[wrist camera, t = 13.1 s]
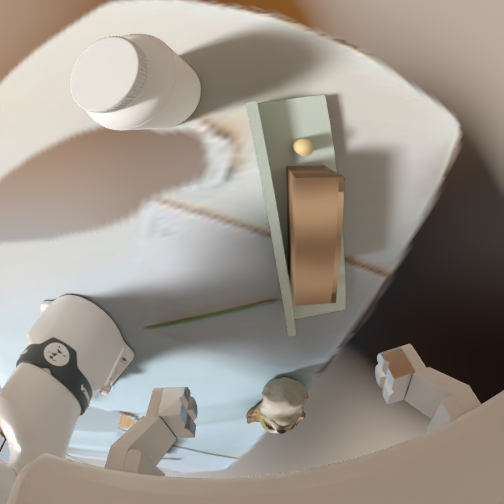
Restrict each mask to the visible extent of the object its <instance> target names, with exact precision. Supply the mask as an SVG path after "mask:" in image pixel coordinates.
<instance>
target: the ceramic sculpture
mask: <svg viewBox="0 0 504 504" xmlns="http://www.w3.org/2000/svg"><path fill="white" fill-rule="evenodd" d="M262 396H263V401H262V403H259V404H258V405H256V406H254V407H252V408H251V409H250V410H249V411H248V412H247V423H248V424H249V423H251V422H254V421H255V422H261V425H262V427H263V428H264V429H265V430H267V431H268V432H271V433H280V434H282V433H286V432H289V431H290V430H292V429H293V428H294V427H295V425H297V424H298V422H299V420H301V419H304V418H305V413H304V412H303V405H304V403H305V402H306V401H307V399H308V393H307V391H306V388H305V387H304V385H303V384H302V383H300V382H299V381H297V380H294V379H291V378H288V377H281V378H277V379H272V380H270V381H269V382H268V383H267V384H266V385H265V387H264V389H263V392H262Z"/></svg>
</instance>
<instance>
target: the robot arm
mask: <svg viewBox="0 0 504 504" xmlns="http://www.w3.org/2000/svg"><path fill="white" fill-rule="evenodd" d="M40 310H41V316H40V317H39V318H38V320H37V321H36V323H35V324H34V326H33V327H32V328H31V330H30V331H29V333H28V335H27V339H28V345H29V346H28V347H27V348H26V349H25V350H24V351H23V352H22V354H21V355H20V357H19V360H18V361H17V364H16V369H15V370H14V372H13V373H12V375H11V376H10V378H9V379H8V381H7V382H6V384H5V385H4V387H3V388H2V390H1V391H0V427H1V429H2V431H3V433H4V435H5V437H6V439H7V442H8V445H9V451H10V461H9V465H7V464H6V463H5V462H3V461H2V460H1V459H0V504H504V391H502V392H501V393H499V394H497V395H496V396H494V397H493V398H492V399H490V400H488V401H487V402H485V403H483V404H480V402H479V400H478V399H477V398H476V396H475V394H474V393H473V391H472V390H471V388H470V386H469V385H466V384H464V383H462V382H460V381H458V380H456V379H454V378H451V377H449V376H447V375H445V374H443V373H441V372H439V371H436V370H434V369H432V368H430V367H428V368H426V367H425V365H424V363H423V362H422V360H421V359H420V357H419V356H418V354H417V353H416V351H415V350H414V348H413V347H412V345H411V344H407V345H404V346H402V347H398V348H395V349H391V350H388V351H385V352H382V353H379V354H378V356H377V361H378V365H377V366H376V370H375V374H376V379H377V383H378V385H379V386H380V387H382V388H383V393H382V394H383V396H384V398H385V401H386V403H387V404H391V403H394V402H397V401H400V400H403V399H405V401H407V402H408V403H410V404H411V405H412V406H414V407H415V408H417V409H418V410H420V411H421V412H423V413H424V414H426V415H427V416H428V417H430V418H431V419H432V421H431V423H430V424H429V426H428V428H427V430H426V431H427V433H425V434H423V435H420V436H418V437H416V438H413V439H410V440H408V441H405V442H403V443H400V444H397V445H395V446H392V447H389V448H386V449H383V450H380V451H377V452H374V453H371V454H367V455H364V456H361V457H357V458H353V459H350V460H346V461H342V462H338V463H334V464H329V465H326V466H320V467H316V468H310V469H305V470H299V471H293V472H286V473H279V474H270V475H261V476H249V477H236V478H234V477H233V478H182V477H165V474H164V473H163V472H162V471H161V470H160V469H159V468H158V467H157V466H156V465H157V464H158V463H159V462H160V460H161V459H162V458H163V456H164V455H165V454H166V453H167V451H168V450H169V449H170V447H171V446H172V445H173V443H174V442H175V441H176V439H177V438H192V437H195V430H196V424H195V423H194V420H195V419H196V418H197V404H196V401H195V399H194V398H193V397H191V396H190V390H189V389H188V387H175V388H154V390H153V391H152V395H151V399H150V402H149V406H148V410H147V414H146V416H143V417H142V418H141V419H140V420H139V421H138V422H136V423H135V424H134V425H133V426H132V427H131V428H130V429H129V430H128V431H127V432H126V433H125V434H124V435H122V436H121V437H120V438H119V439H118V440H117V441H116V442H115V443H114V444H113V445H112V446H111V448H110V451H109V454H108V458H107V461H106V465H105V468H102V467H97V466H92V465H88V464H84V463H80V462H76V461H72V460H69V459H65V457H66V452H67V448H68V445H69V442H70V439H71V436H72V433H73V431H74V428H75V425H76V423H77V421H78V418H79V416H80V415H82V414H83V413H84V412H85V410H86V409H87V408H88V406H89V404H90V400H91V399H93V398H94V397H95V396H96V395H97V394H98V392H100V393H101V394H103V395H105V396H107V395H108V393H109V391H110V389H111V387H112V386H111V385H112V384H113V383H114V382H115V380H116V379H117V378H118V377H119V376H120V374H121V373H122V372H123V371H124V370H125V368H126V367H127V366H128V365H129V364H130V362H131V361H132V360H133V358H134V356H135V354H134V352H133V351H132V350H131V349H130V347H129V346H128V345H127V344H126V343H125V342H124V340H123V338H122V336H121V333H120V331H119V329H118V328H117V326H116V324H115V323H114V322H113V320H112V319H111V318H110V317H109V316H108V315H107V314H106V313H105V312H104V311H103V310H102V309H101V308H99V307H98V306H97V305H95V304H94V303H92V302H90V301H89V300H87V299H84V298H82V297H79V296H75V295H64V296H61V297H59V298H57V299H56V300H54V301H43V302H42V304H41V305H40Z"/></svg>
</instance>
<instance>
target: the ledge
mask: <svg viewBox="0 0 504 504" xmlns="http://www.w3.org/2000/svg"><path fill="white" fill-rule="evenodd" d="M246 108H247V113H248V118H249V123H250V127H251V132H252V137H253V142H254V147H255V152H256V158H257V163H258V168H259V173H260V178H261V183H262V189H263V194H264V199H265V205H266V210H267V215H268V221H269V226H270V232H271V238H272V243H273V249H274V254H275V260H276V266H277V272H278V277H279V283H280V289H281V295H282V301H283V307H284V313H285V319H286V326H287V332H288V337H290V336H296V328H295V321H294V319H298V318H304V317H309V316H315V315H320V314H325V313H331V312H336V311H341V310H345V309H346V286H345V260H344V242H343V228H342V242H341V255H340V267H339V277H338V287H337V296H336V303H329V304H316V305H301V306H295V303H294V298H293V293H292V288H291V284H290V279H289V274H288V225H287V178H286V166H326V167H328V168H329V169H331V170H333V171H334V172H336V173H337V168H336V160H335V153H334V146H333V139H332V132H331V126H330V120H329V114H328V109H327V103H326V98H325V95H319V96H308V97H300V98H291V99H284V100H277V101H270V102H264V103H258V104H257V101H253V102H248V103H246Z"/></svg>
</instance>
